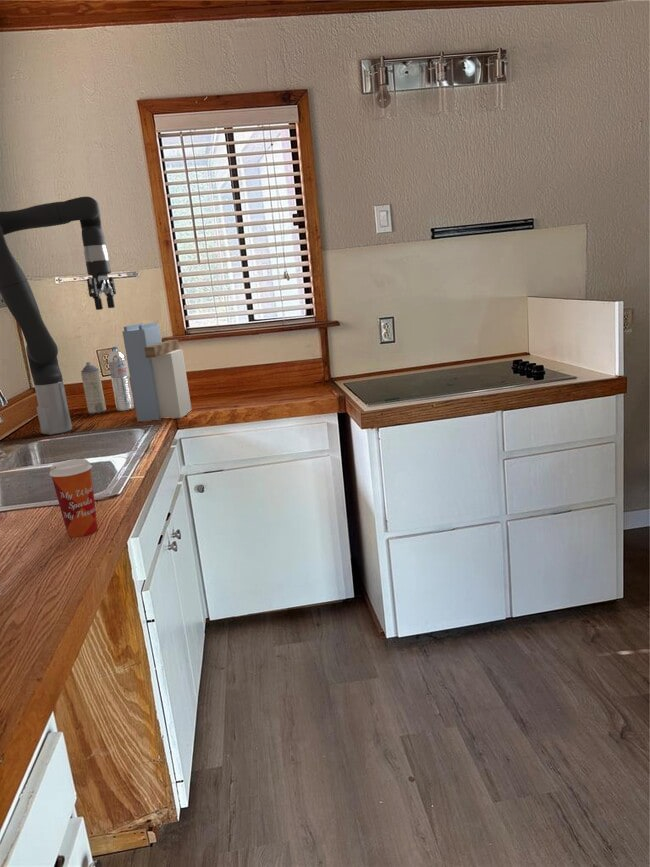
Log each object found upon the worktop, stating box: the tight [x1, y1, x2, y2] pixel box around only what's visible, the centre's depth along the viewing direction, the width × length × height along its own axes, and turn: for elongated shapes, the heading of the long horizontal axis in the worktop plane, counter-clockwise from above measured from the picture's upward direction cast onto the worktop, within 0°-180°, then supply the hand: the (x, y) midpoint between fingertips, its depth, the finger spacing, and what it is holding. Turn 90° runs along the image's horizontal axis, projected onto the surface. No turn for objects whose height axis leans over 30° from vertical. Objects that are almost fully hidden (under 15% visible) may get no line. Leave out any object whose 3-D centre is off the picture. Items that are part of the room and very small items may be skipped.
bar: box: [144, 339, 180, 358], centre depth 223 cm, size 21×4×4 cm, turn 171°
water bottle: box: [107, 346, 135, 412], centre depth 250 cm, size 7×7×25 cm
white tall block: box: [151, 348, 193, 419], centre depth 229 cm, size 11×8×23 cm
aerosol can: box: [80, 361, 107, 415], centre depth 251 cm, size 7×7×20 cm
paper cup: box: [49, 458, 99, 538], centre depth 124 cm, size 8×8×14 cm
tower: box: [122, 321, 163, 422], centre depth 228 cm, size 13×8×34 cm, turn 171°
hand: (105, 308), depth 218 cm, fingers open, 8 cm apart
